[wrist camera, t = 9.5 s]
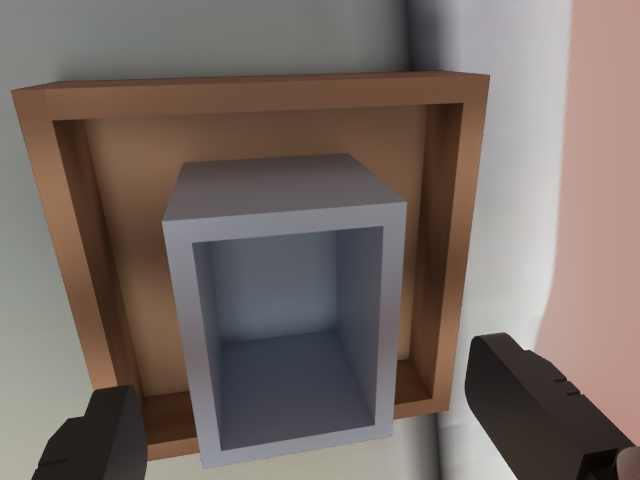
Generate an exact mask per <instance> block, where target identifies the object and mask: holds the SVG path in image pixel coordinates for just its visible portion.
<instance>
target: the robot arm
mask: <svg viewBox="0 0 640 480" xmlns="http://www.w3.org/2000/svg"><path fill="white" fill-rule="evenodd" d="M465 395H466V399H467V402H468V405H469V407H470V409H471V411H472V412H473V414H474V415H475V417H476V418H477V420H478V421H479V423H480V424H481V426H482V427H483V429H484V430H485V432H486V433H487V435H488V436H489V437H490V439H491V440H492V442H493V443H494V445H495V446H496V448H497V449H498V451H499V452H500V454H501V455H502V457H503V458H504V460H505V461H506V463H507V464H508V466H509V467H510V469H511V470H512V472H513V473H514V475H515V476H516V478H517V479H518V480H640V447H637V446H636V445H635V444H633V443H632V442H631V441H630V440H629V439H628V438H627V437H626V436H625V435H624V434H623V433H622V432H621V431H620V430H619V429H618V428H617V427H616V426H615V425H614V424H613V423H612V422H611V421H610V420H609V419H608V418H607V417H606V416H605V415H604V414H603V413H602V412H601V411H600V410H599V409H597V407H596V406H595V405H594V404H593V403H592V402H591V401H590V400H589V399H588V398H586V397H585V395H584V394H583V395H581V394H580V391H579V390H578V389H577V388H576V387H575V386H574V385H573V384H572V383H571V382H570V381H567V378H566V377H565V376H564V375H563V374H562V373H561V372H560V371H559V370H558V369H557V368H556V367H555V366H554V365H553V364H552V363H551V362H549V361H547V360H546V359H544V358H542V357H541V356H539V355H537V354H535V353H534V352H532V351H530V350H526V351H524V350H523V349H522V348H521V347H520V346H519V345H518V344H517V343H516V342H515V340H514V339H513V338H512V337H511V336H510V335H508V334H507V333H503V332H502V333H495V334H488V335H481V336H475V337H474V338H473V339H472V341H471V345H470V352H469V359H468V365H467V372H466V379H465ZM147 458H148V444H147V436H146V431H145V427H144V423H143V418H142V414H141V410H140V406H139V402H138V398H137V393H136V390H135V387H134V386H133V385H132V384H130V385H123V386H116V387H109V388H102V389H96V390H95V391H94V392H93V394H92V396H91V399H90V401H89V404H88V407H87V409H86V412H85V415H84V416H82V417H76V418H69V419H67V420H66V421H65V423H64V424H63V425H62V426H61V427H60V428H59V429H58V430H57V431H56V433H55V434H54V435H53V436H52V437H51V438H50V439H49V440H48V443H47V445H46V447H45V449H44V452H43V454H42V456H41V459H40V461H39V463H38V469H36V470H35V472H34V475H33V477H32V479H31V480H144V478H145V472H146V467H147Z"/></svg>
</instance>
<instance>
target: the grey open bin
mask: <svg viewBox="0 0 640 480" xmlns="http://www.w3.org/2000/svg"><path fill="white" fill-rule="evenodd" d="M406 212H407V201H405V200H404V199H403V198H402V197H401V196H399V195H398V194H397V193H396V192H395V191H393V190H392V189H391V188H390V187H389V186H387V185H386V184H385V183H384V182H383V181H381V180H380V179H379V178H378V177H376V176H375V175H374V174H373V173H372V172H370V171H369V170H368V169H367V168H366V167H364V166H363V165H362V164H361V163H360V162H358V161H357V160H356V159H355V158H354V157H352V156H351V155H350V154H349V153H339V154H322V155H305V156H288V157H271V158H254V159H237V160H220V161H203V162H186V163H183V165H182V167H181V170H180V173H179V176H178V178H177V181H176V184H175V187H174V189H173V192H172V195H171V198H170V200H169V203H168V206H167V209H166V211H165V214H164V217H163V220H162V226H163V232H164V238H165V244H166V250H167V256H168V262H169V268H170V274H171V280H172V286H173V292H174V298H175V304H176V310H177V316H178V322H179V328H180V334H181V340H182V347H183V353H184V359H185V365H186V371H187V377H188V383H189V389H190V395H191V401H192V407H193V413H194V419H195V425H196V431H197V437H198V443H199V449H200V455H201V461H202V467H203V469H207V468H212V467H218V466H224V465H230V464H235V463H241V462H247V461H253V460H258V459H264V458H270V457H276V456H281V455H287V454H293V453H299V452H304V451H310V450H316V449H322V448H327V447H333V446H339V445H344V444H350V443H356V442H362V441H367V440H373V439H379V438H385V437H390V436H392V430H393V414H394V399H395V383H396V368H397V352H398V336H399V321H400V305H401V290H402V274H403V259H404V243H405V227H406Z"/></svg>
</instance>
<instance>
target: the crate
mask: <svg viewBox="0 0 640 480" xmlns="http://www.w3.org/2000/svg"><path fill="white" fill-rule="evenodd" d="M489 81H490V75H485V74H474V73H463V72H453V71H442V70H438V71H404V72H370V73H336V74H302V75H268V76H234V77H200V78H167V79H133V80H99V81H65V82H52V83H47V84H42V85H36V86H31V87H26V88H20V89H15V90H11V94H12V97H13V101H14V104H15V108H16V112H17V115H18V119H19V123H20V126H21V130H22V133H23V137H24V141H25V144H26V148H27V151H28V155H29V159H30V162H31V166H32V170H33V173H34V177H35V180H36V184H37V188H38V191H39V195H40V198H41V202H42V206H43V209H44V213H45V217H46V220H47V224H48V227H49V231H50V235H51V238H52V242H53V245H54V249H55V253H56V256H57V260H58V264H59V267H60V271H61V274H62V278H63V282H64V285H65V289H66V292H67V296H68V300H69V303H70V307H71V310H72V314H73V318H74V321H75V325H76V329H77V332H78V336H79V339H80V343H81V347H82V350H83V354H84V357H85V361H86V365H87V368H88V372H89V376H90V379H91V383H92V386H93V390H94V391H95V390H96V389H102V388H109V387H116V386H123V385H130V384H132V385H133V386H134V387H135V390H136V393H137V398H138V402H139V406H140V410H141V414H142V418H143V423H144V427H145V431H146V436H147V444H148V458H147V461H152V460H158V459H164V458H170V457H176V456H182V455H188V454H194V453H200V449H199V443H198V437H197V431H196V425H195V419H194V413H193V407H192V401H191V395H190V389H189V383H188V377H187V371H186V365H185V359H184V353H183V347H182V340H181V334H180V328H179V322H178V316H177V310H176V304H175V298H174V292H173V286H172V280H171V274H170V268H169V262H168V256H167V250H166V244H165V238H164V232H163V226H162V220H163V217H164V214H165V211H166V209H167V206H168V203H169V200H170V198H171V195H172V192H173V189H174V187H175V184H176V181H177V178H178V176H179V173H180V170H181V167H182V165H183V163H186V162H203V161H220V160H237V159H254V158H271V157H288V156H305V155H322V154H339V153H349V154H350V155H351V156H352V157H354V158H355V159H356V160H357V161H358V162H360V163H361V164H362V165H363V166H364V167H366V168H367V169H368V170H369V171H370V172H372V173H373V174H374V175H375V176H376V177H378V178H379V179H380V180H381V181H383V182H384V183H385V184H386V185H387V186H389V187H390V188H391V189H392V190H393V191H395V192H396V193H397V194H398V195H399V196H401V197H402V198H403V199H404V200H405V201H407V212H406V227H405V243H404V259H403V274H402V290H401V305H400V321H399V336H398V352H397V368H396V383H395V399H394V414H393V420H394V419H400V418H406V417H412V416H418V415H424V414H430V413H436V412H442V411H448V410H449V403H450V395H451V387H452V379H453V371H454V363H455V355H456V347H457V338H458V330H459V322H460V314H461V306H462V298H463V290H464V282H465V274H466V266H467V258H468V250H469V242H470V234H471V226H472V218H473V210H474V202H475V194H476V186H477V178H478V170H479V162H480V154H481V145H482V137H483V129H484V121H485V113H486V105H487V97H488V89H489Z"/></svg>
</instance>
